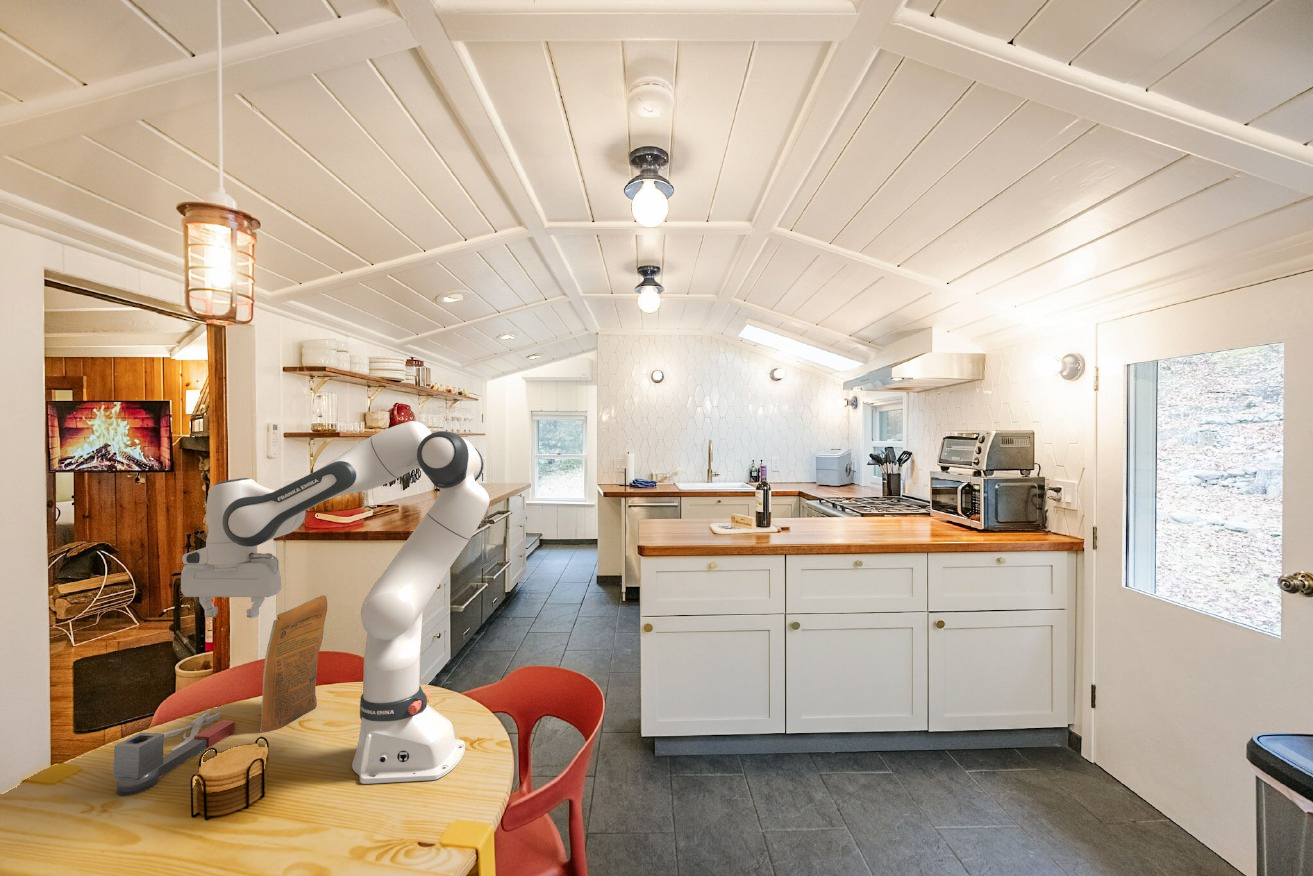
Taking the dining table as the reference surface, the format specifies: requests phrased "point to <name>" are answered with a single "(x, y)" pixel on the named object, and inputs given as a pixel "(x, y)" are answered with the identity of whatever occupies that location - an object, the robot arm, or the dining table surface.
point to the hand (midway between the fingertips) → (232, 616)
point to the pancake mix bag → (292, 664)
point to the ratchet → (176, 758)
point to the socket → (138, 755)
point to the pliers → (193, 728)
